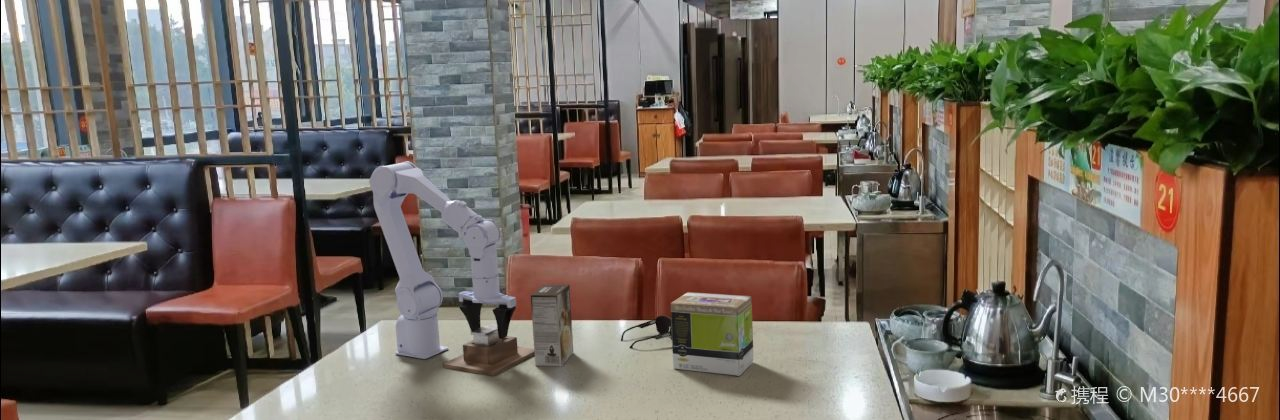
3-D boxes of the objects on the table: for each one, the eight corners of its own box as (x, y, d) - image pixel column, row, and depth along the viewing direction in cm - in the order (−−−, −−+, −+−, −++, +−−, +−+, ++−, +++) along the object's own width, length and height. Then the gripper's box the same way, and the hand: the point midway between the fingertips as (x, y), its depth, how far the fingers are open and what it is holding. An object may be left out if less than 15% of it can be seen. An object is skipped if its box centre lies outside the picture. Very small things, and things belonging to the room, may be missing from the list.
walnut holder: (443, 367, 190) (441, 347, 189) (489, 345, 204) (488, 327, 203) (493, 376, 183) (491, 356, 183) (537, 353, 197) (536, 334, 196)
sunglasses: (682, 343, 200) (678, 323, 199) (634, 358, 196) (631, 337, 195) (663, 331, 210) (660, 311, 209) (618, 344, 206) (614, 325, 205)
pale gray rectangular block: (472, 360, 191) (470, 332, 190) (491, 351, 197) (489, 323, 196) (487, 363, 189) (485, 334, 188) (505, 353, 195) (503, 325, 194)
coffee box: (547, 352, 197) (543, 283, 195) (574, 352, 196) (570, 283, 193) (534, 366, 189) (529, 294, 186) (562, 366, 187) (558, 294, 185)
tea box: (754, 362, 186) (753, 295, 183) (739, 377, 177) (738, 307, 174) (689, 354, 192) (687, 289, 190) (671, 369, 183) (669, 301, 181)
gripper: (447, 277, 190) (452, 336, 193) (500, 283, 183) (504, 344, 186) (468, 270, 196) (473, 327, 199) (520, 275, 189) (524, 335, 192)
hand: (489, 335), depth 193 cm, fingers open, 7 cm apart
